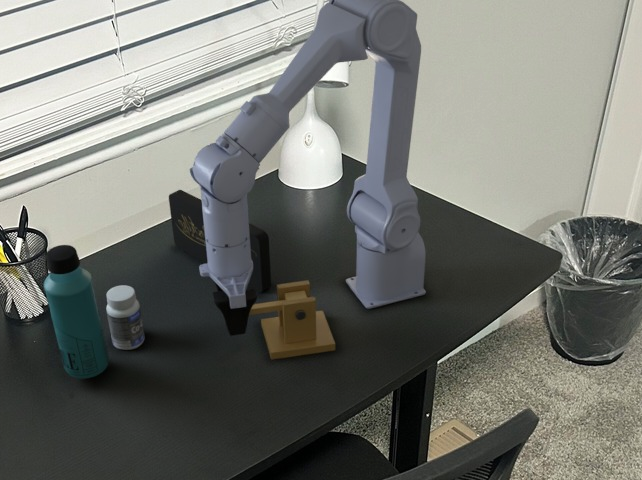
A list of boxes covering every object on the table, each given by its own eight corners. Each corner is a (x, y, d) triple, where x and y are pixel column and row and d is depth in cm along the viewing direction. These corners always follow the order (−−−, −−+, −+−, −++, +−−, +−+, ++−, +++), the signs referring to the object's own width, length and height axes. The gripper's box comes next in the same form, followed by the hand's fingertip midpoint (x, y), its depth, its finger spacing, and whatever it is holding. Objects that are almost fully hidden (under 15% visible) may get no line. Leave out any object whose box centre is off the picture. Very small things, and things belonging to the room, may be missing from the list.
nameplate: (271, 289, 139) (268, 232, 133) (262, 294, 138) (259, 237, 132) (183, 241, 152) (177, 187, 146) (174, 246, 151) (167, 192, 145)
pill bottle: (140, 351, 130) (132, 303, 125) (108, 350, 131) (99, 302, 125) (148, 331, 133) (141, 283, 128) (117, 330, 134) (108, 282, 129)
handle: (230, 330, 124) (229, 316, 122) (225, 309, 128) (224, 295, 126) (310, 319, 124) (310, 305, 123) (303, 298, 128) (302, 284, 127)
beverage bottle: (118, 361, 128) (95, 239, 116) (99, 392, 124) (73, 267, 111) (77, 355, 130) (49, 234, 118) (56, 385, 126) (25, 262, 113)
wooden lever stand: (271, 359, 126) (268, 314, 121) (261, 325, 132) (258, 280, 127) (335, 350, 126) (335, 304, 121) (322, 316, 132) (322, 271, 128)
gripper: (190, 212, 123) (199, 295, 131) (202, 270, 112) (212, 357, 120) (242, 205, 123) (248, 288, 132) (260, 262, 112) (265, 349, 120)
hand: (234, 321), depth 126 cm, fingers closed on handle, 5 cm apart
